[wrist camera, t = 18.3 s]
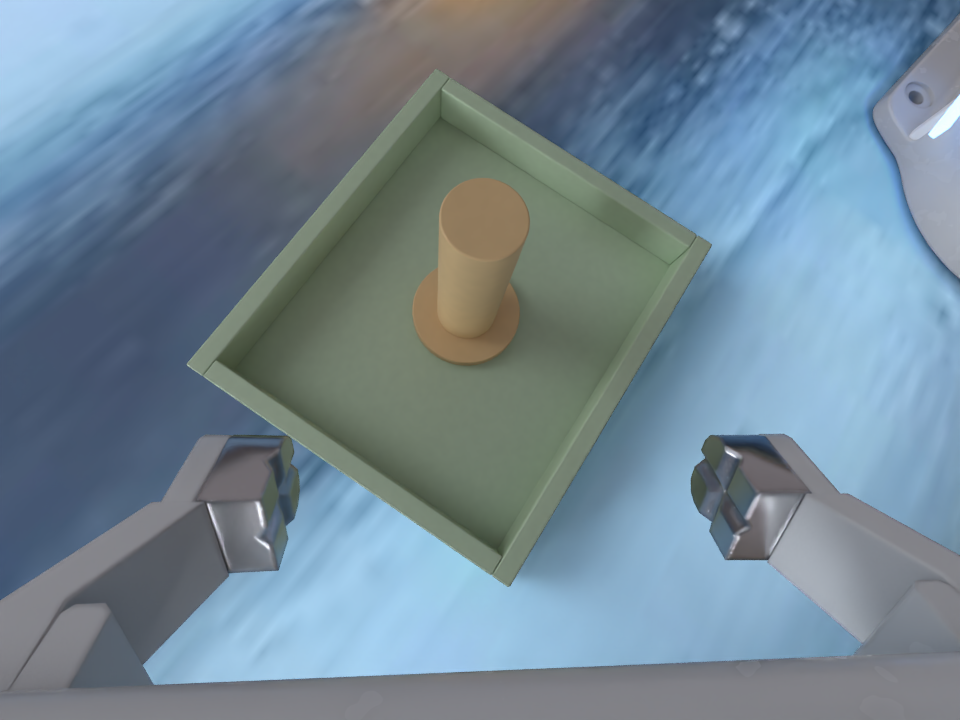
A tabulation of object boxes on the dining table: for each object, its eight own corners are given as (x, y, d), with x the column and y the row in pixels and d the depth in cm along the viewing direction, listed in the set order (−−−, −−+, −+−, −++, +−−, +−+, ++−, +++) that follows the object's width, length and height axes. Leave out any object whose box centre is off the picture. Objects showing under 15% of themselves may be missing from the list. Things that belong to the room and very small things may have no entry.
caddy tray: (435, 112, 26) (436, -98, 17) (681, 270, 26) (832, 146, 16) (217, 378, 23) (52, 306, 13) (499, 573, 22) (551, 653, 12)
